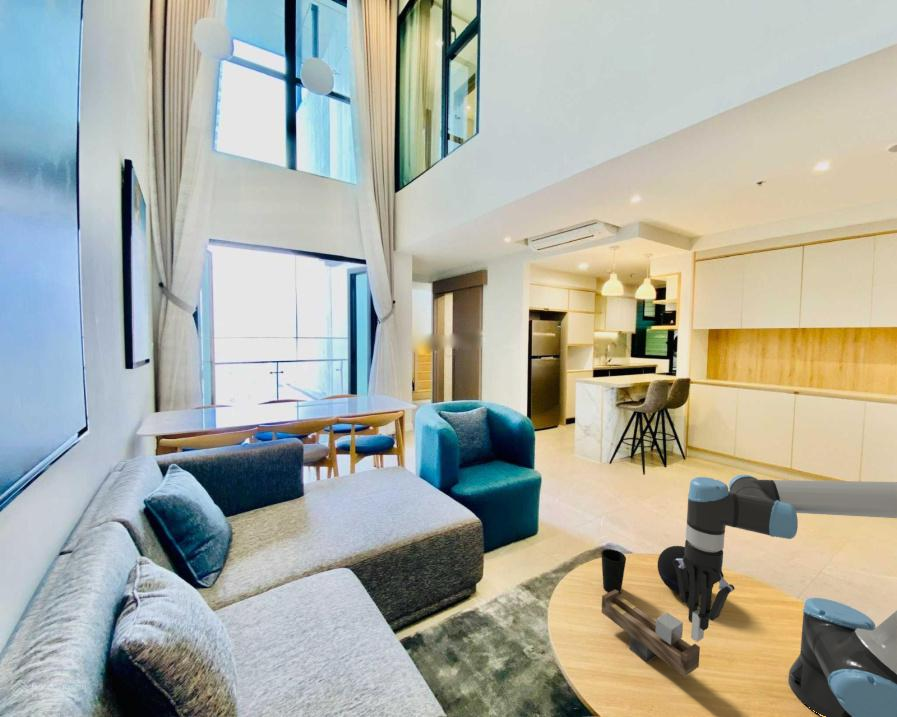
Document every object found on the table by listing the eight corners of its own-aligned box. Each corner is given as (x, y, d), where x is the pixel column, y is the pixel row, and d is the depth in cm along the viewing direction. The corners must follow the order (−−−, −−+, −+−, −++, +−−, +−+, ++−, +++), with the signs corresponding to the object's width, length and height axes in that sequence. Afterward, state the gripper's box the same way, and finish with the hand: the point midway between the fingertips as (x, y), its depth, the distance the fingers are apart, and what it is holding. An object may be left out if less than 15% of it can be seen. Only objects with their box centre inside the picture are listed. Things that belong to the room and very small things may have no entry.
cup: (597, 590, 127) (598, 556, 126) (602, 579, 133) (604, 546, 133) (622, 600, 123) (623, 564, 122) (626, 587, 129) (628, 553, 128)
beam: (698, 681, 94) (700, 646, 94) (683, 693, 91) (685, 657, 90) (614, 617, 115) (615, 589, 114) (600, 625, 112) (601, 595, 111)
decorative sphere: (695, 614, 117) (698, 568, 116) (647, 587, 129) (649, 545, 128) (717, 596, 125) (719, 553, 124) (670, 572, 138) (672, 532, 137)
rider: (681, 647, 97) (682, 622, 96) (670, 654, 94) (671, 629, 94) (666, 636, 100) (667, 612, 100) (654, 643, 98) (656, 619, 97)
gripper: (743, 554, 86) (735, 652, 87) (684, 527, 97) (678, 614, 98) (727, 563, 82) (719, 665, 83) (667, 534, 93) (661, 624, 95)
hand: (697, 637), depth 91 cm, fingers closed
